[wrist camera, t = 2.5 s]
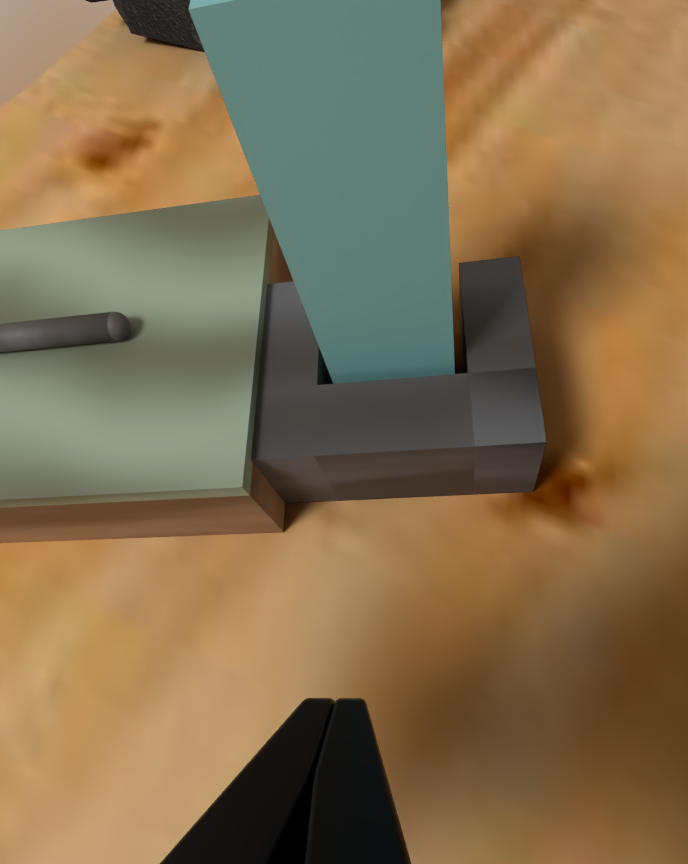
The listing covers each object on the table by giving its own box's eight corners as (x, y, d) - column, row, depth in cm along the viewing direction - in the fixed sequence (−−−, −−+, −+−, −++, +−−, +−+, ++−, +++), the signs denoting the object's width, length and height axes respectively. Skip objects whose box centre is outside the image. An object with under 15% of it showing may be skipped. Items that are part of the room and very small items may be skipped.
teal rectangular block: (456, 418, 22) (436, -105, 8) (349, 426, 23) (166, -48, 9) (451, 350, 24) (426, -199, 10) (350, 359, 24) (192, -143, 10)
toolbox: (537, 522, 20) (558, 455, 15) (-141, 548, 25) (-288, 503, 20) (502, 249, 26) (509, 136, 21) (-51, 312, 30) (-150, 231, 25)
